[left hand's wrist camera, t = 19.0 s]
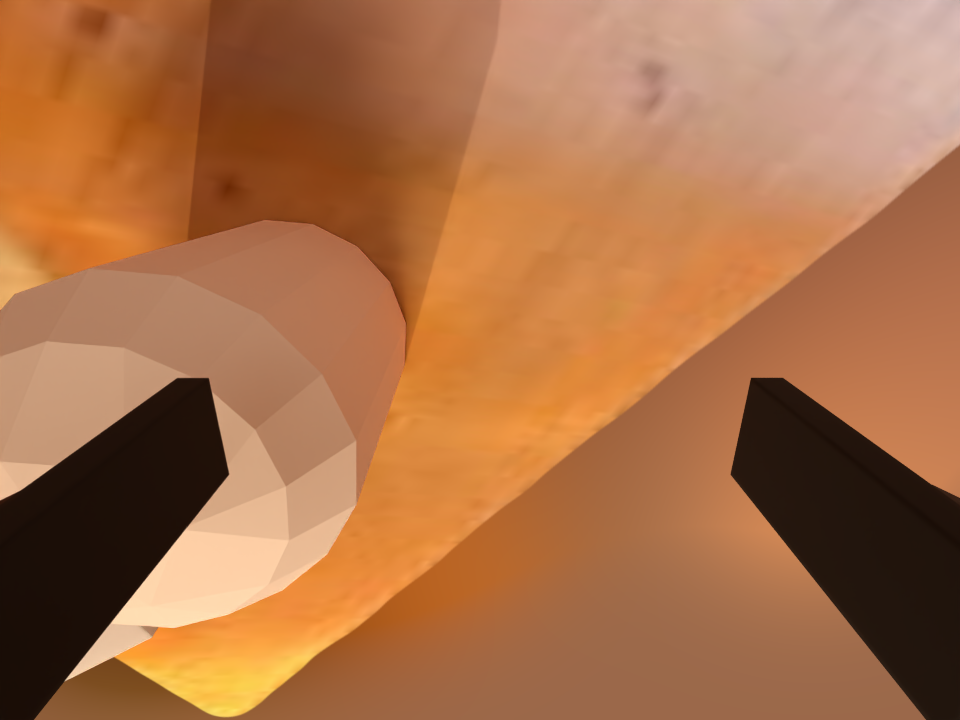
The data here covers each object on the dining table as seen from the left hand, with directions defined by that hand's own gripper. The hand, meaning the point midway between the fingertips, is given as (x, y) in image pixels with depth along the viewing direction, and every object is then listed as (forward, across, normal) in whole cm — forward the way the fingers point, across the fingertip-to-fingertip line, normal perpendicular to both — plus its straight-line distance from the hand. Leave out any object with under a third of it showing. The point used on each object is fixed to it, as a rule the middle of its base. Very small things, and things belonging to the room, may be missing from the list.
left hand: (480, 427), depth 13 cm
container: (+34, +17, +9) cm, 39 cm away
